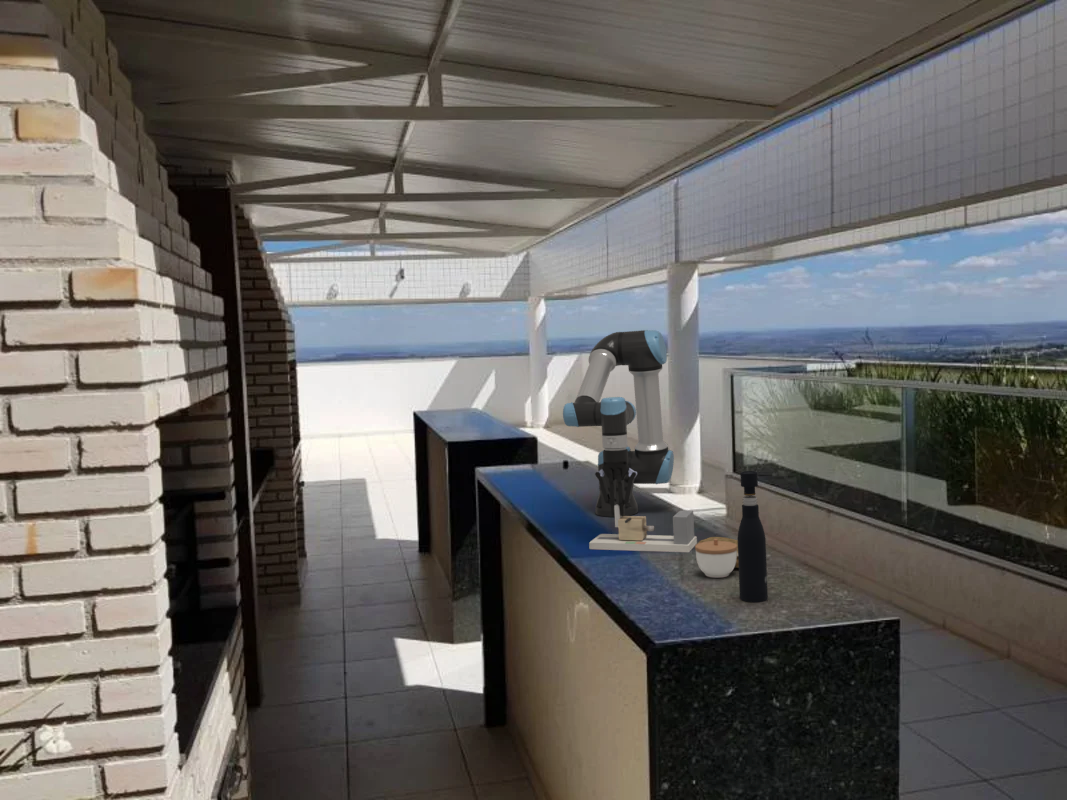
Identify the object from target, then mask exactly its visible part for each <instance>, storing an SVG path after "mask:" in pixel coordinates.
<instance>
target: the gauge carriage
mask: <svg viewBox="0 0 1067 800" xmlns="http://www.w3.org/2000/svg"><path fill="white" fill-rule="evenodd" d="M617 528H618V534H619V540H643V539H644V538H645V537H646V536H647V535H648V533H647V532H654V531H655V526H654V525H647V516H645V515H644V516H642V515H641V516H639V515H638V516H637V515H628V516H622V517H621V518H620V519H619V520H618V527H617Z"/></svg>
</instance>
